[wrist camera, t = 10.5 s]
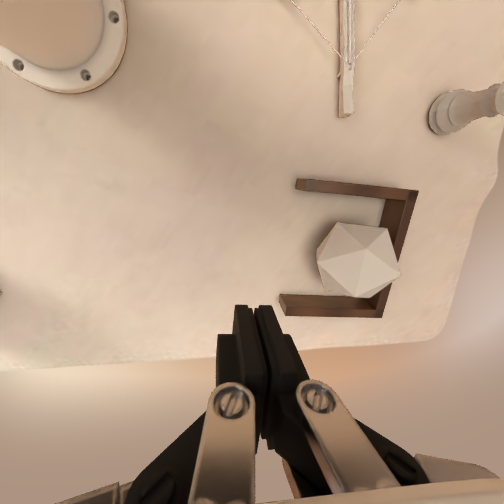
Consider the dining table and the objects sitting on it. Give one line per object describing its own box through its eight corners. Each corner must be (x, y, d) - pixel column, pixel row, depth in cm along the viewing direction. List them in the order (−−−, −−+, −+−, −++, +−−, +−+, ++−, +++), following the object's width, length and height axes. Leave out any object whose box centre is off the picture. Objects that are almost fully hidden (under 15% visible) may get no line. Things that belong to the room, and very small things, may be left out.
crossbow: (274, -68, 22) (279, -93, 20) (402, -71, 23) (419, -96, 21) (287, 122, 26) (292, 116, 24) (396, 112, 27) (409, 105, 25)
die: (313, 289, 34) (389, 322, 27) (286, 264, 28) (378, 299, 21) (339, 238, 35) (418, 258, 29) (319, 203, 29) (415, 217, 22)
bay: (278, 302, 33) (285, 316, 30) (296, 178, 28) (306, 178, 25) (366, 304, 35) (381, 318, 32) (397, 189, 30) (419, 190, 27)
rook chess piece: (421, 134, 29) (493, 119, 21) (431, 90, 27) (512, 58, 20) (454, 136, 29) (536, 123, 22) (466, 94, 28) (557, 64, 20)
